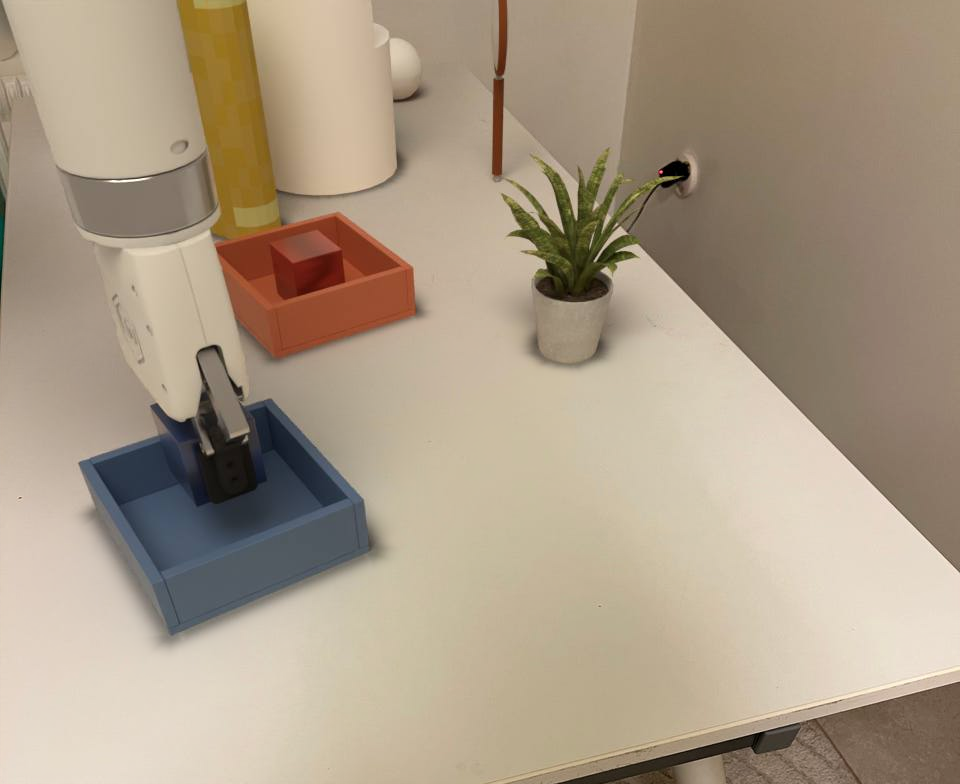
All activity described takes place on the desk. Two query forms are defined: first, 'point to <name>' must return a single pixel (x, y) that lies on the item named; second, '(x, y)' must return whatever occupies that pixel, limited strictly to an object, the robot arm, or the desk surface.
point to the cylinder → (325, 94)
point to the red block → (306, 264)
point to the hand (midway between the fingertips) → (216, 470)
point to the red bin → (321, 314)
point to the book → (231, 114)
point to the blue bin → (227, 523)
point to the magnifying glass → (498, 79)
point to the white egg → (404, 68)
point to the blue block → (184, 443)
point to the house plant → (575, 261)
